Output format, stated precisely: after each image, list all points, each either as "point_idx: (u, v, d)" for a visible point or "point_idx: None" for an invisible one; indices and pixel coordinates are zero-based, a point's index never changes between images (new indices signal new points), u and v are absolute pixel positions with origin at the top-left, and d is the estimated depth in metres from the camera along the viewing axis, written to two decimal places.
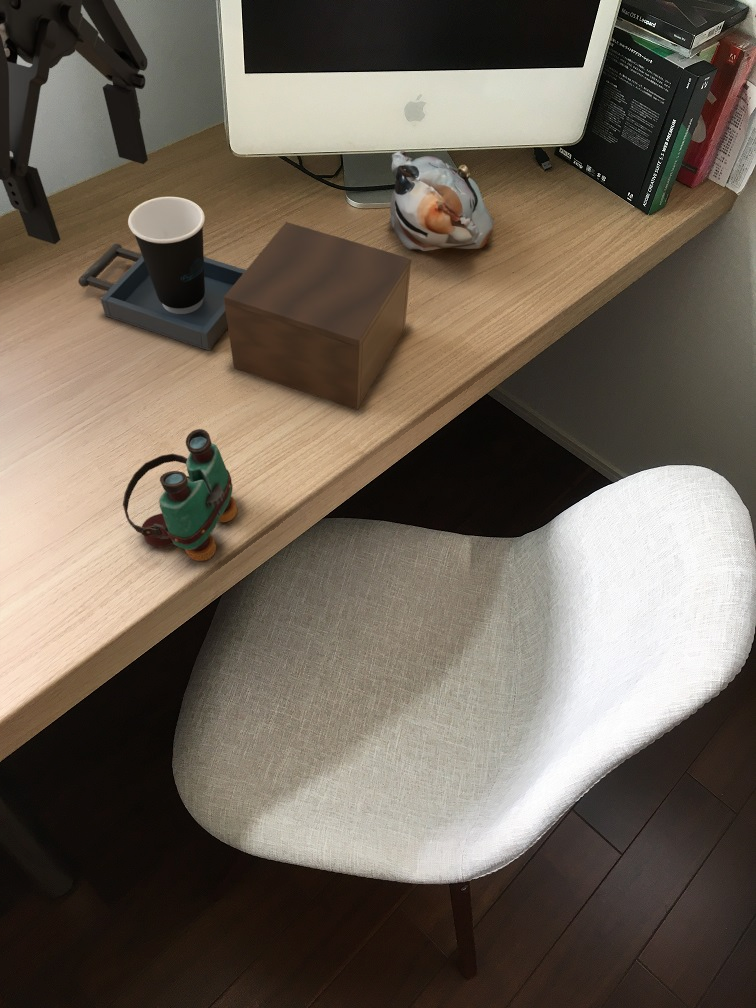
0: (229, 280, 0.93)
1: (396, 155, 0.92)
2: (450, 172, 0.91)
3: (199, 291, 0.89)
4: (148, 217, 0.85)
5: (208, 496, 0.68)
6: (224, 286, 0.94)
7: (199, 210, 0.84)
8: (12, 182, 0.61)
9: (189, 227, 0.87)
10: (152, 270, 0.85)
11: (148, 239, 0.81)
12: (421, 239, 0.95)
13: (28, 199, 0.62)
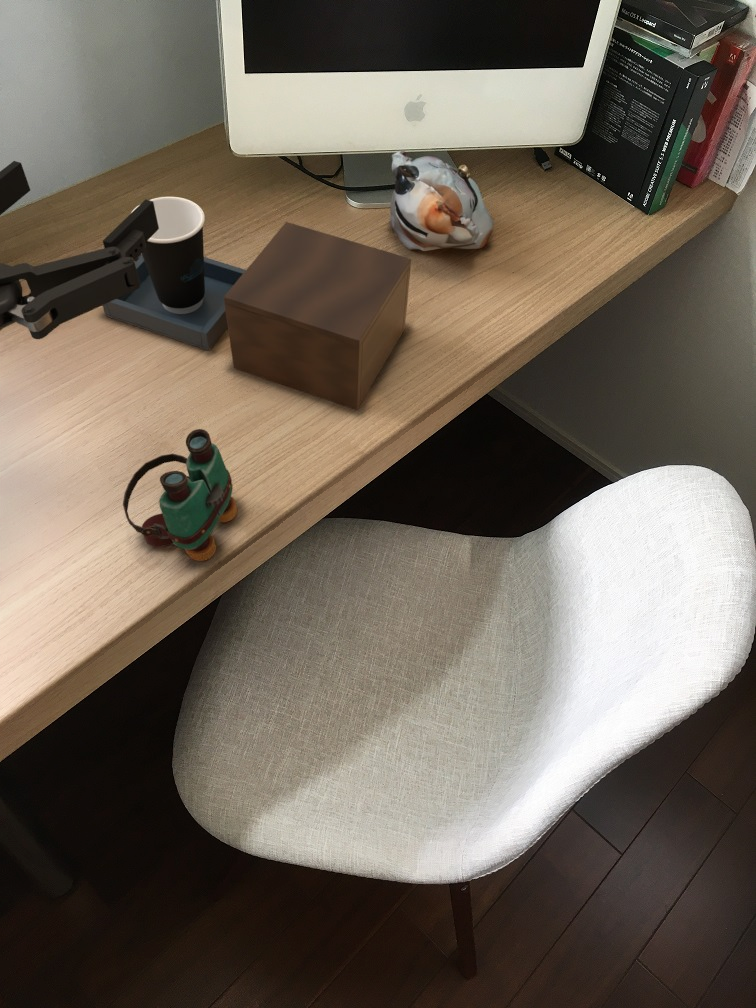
0: (229, 280, 0.93)
1: (396, 155, 0.92)
2: (450, 172, 0.91)
3: (199, 291, 0.89)
4: None
5: (208, 496, 0.68)
6: (224, 286, 0.94)
7: (199, 210, 0.84)
8: None
9: (189, 227, 0.87)
10: (152, 270, 0.85)
11: None
12: (421, 239, 0.95)
13: None
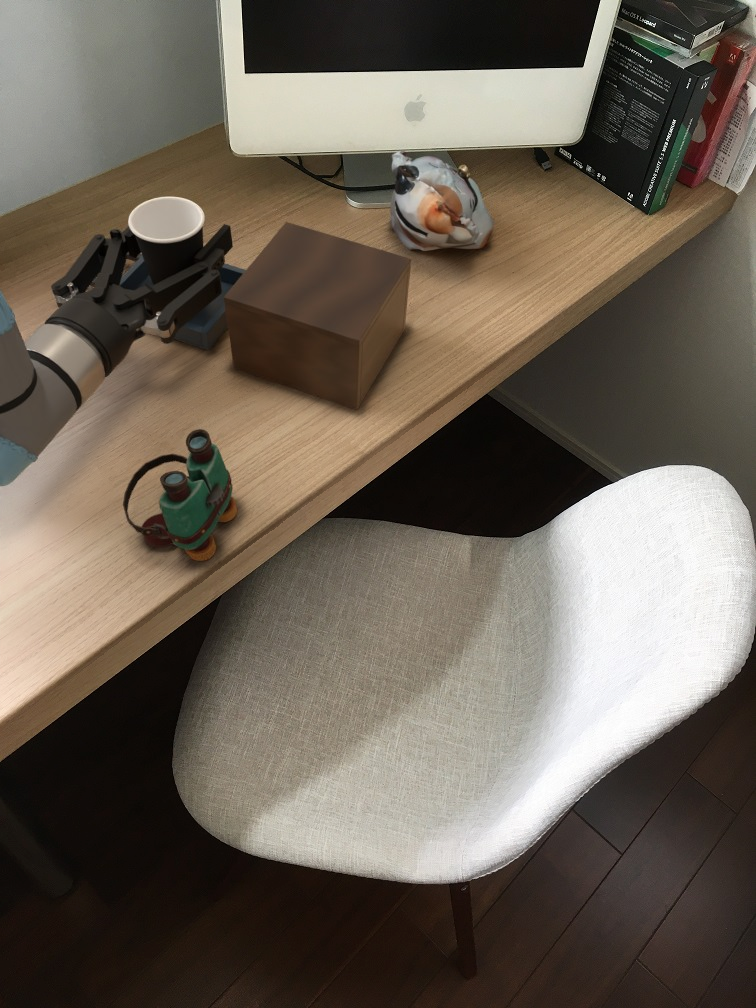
0: (229, 280, 0.93)
1: (396, 155, 0.92)
2: (450, 172, 0.91)
3: None
4: (148, 217, 0.85)
5: (208, 496, 0.68)
6: (224, 286, 0.94)
7: (199, 210, 0.84)
8: None
9: (189, 227, 0.87)
10: (152, 270, 0.85)
11: (148, 239, 0.81)
12: (421, 239, 0.95)
13: None
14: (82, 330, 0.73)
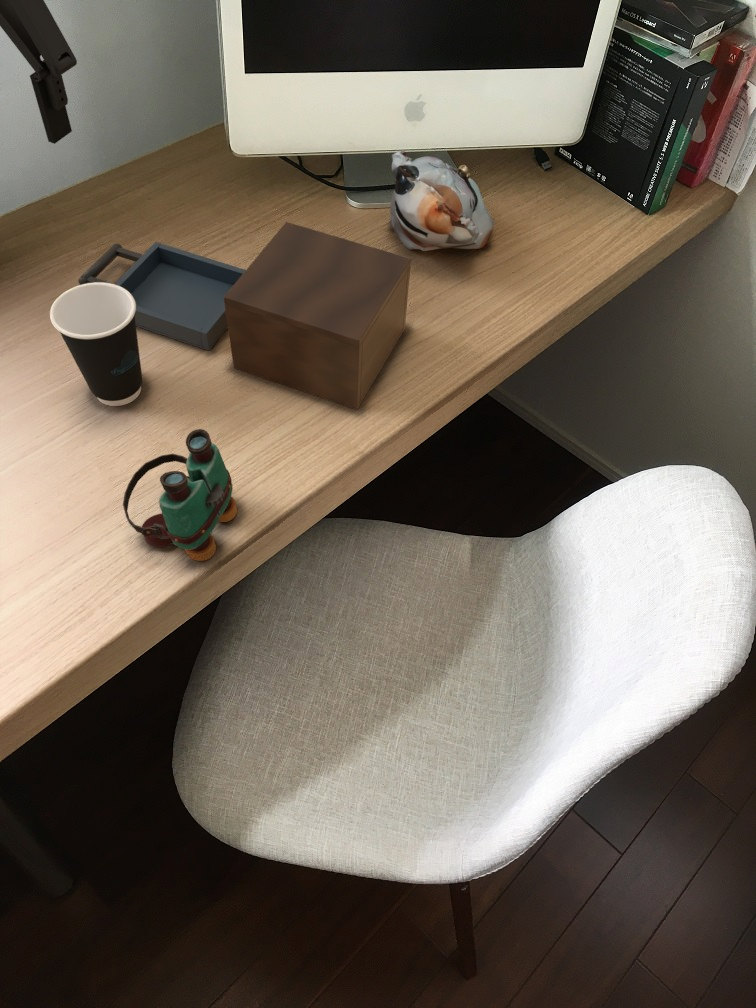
0: (229, 280, 0.93)
1: (396, 155, 0.92)
2: (450, 172, 0.91)
3: (134, 382, 0.81)
4: (75, 305, 0.77)
5: (208, 496, 0.68)
6: (224, 286, 0.94)
7: (130, 298, 0.76)
8: (59, 78, 0.74)
9: (122, 314, 0.79)
10: (79, 363, 0.77)
11: (70, 335, 0.72)
12: (421, 239, 0.95)
13: None
14: None
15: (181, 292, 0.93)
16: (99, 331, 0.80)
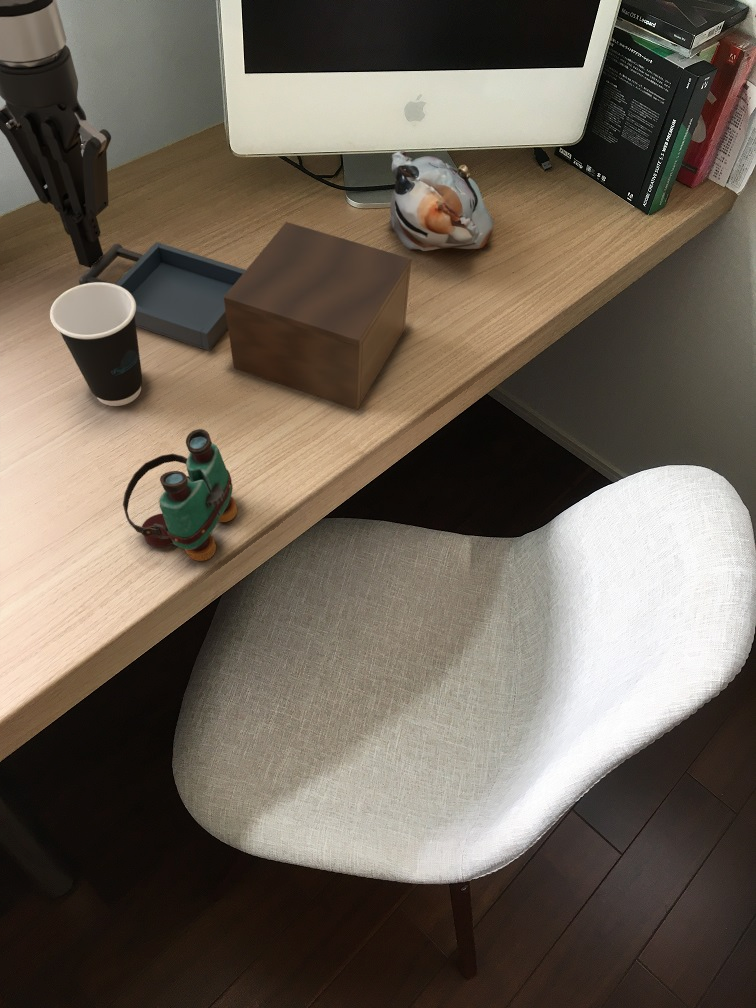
0: (229, 280, 0.93)
1: (396, 155, 0.92)
2: (450, 172, 0.91)
3: (134, 382, 0.81)
4: (75, 305, 0.77)
5: (208, 496, 0.68)
6: (224, 286, 0.93)
7: (130, 298, 0.76)
8: None
9: (122, 314, 0.79)
10: (79, 363, 0.77)
11: (70, 335, 0.72)
12: (421, 239, 0.95)
13: None
14: None
15: (181, 292, 0.93)
16: (99, 331, 0.80)
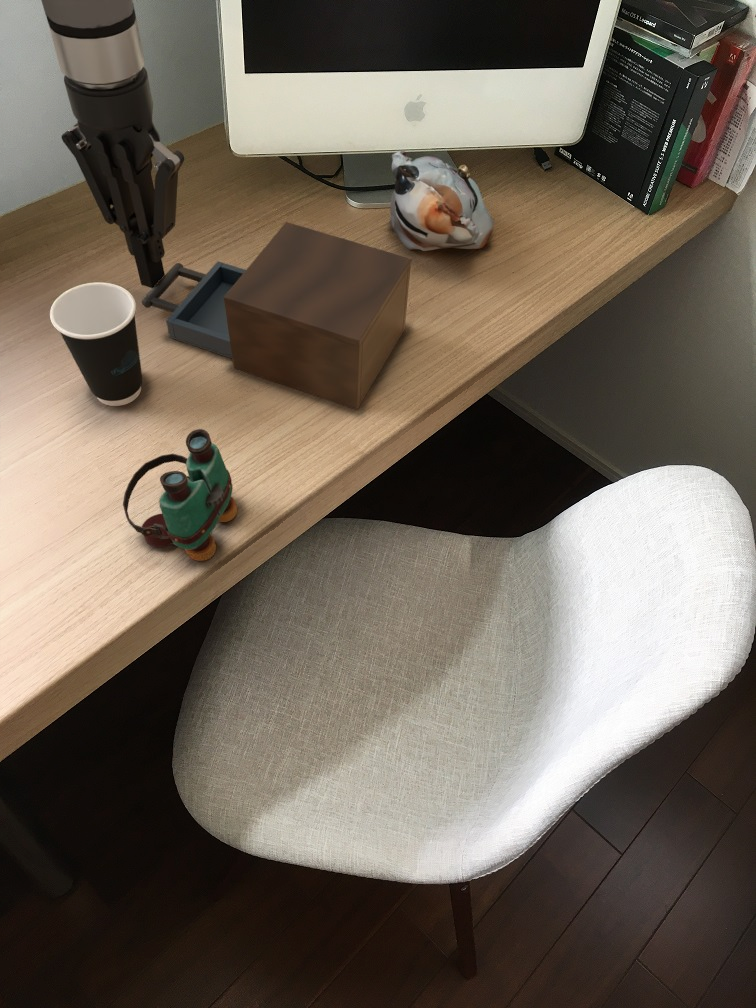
0: None
1: (396, 155, 0.92)
2: (450, 172, 0.91)
3: (134, 382, 0.81)
4: (75, 305, 0.77)
5: (208, 496, 0.68)
6: None
7: (130, 298, 0.76)
8: None
9: (122, 314, 0.79)
10: (79, 363, 0.77)
11: (70, 335, 0.72)
12: (421, 239, 0.95)
13: None
14: (69, 84, 0.71)
15: None
16: (99, 331, 0.80)
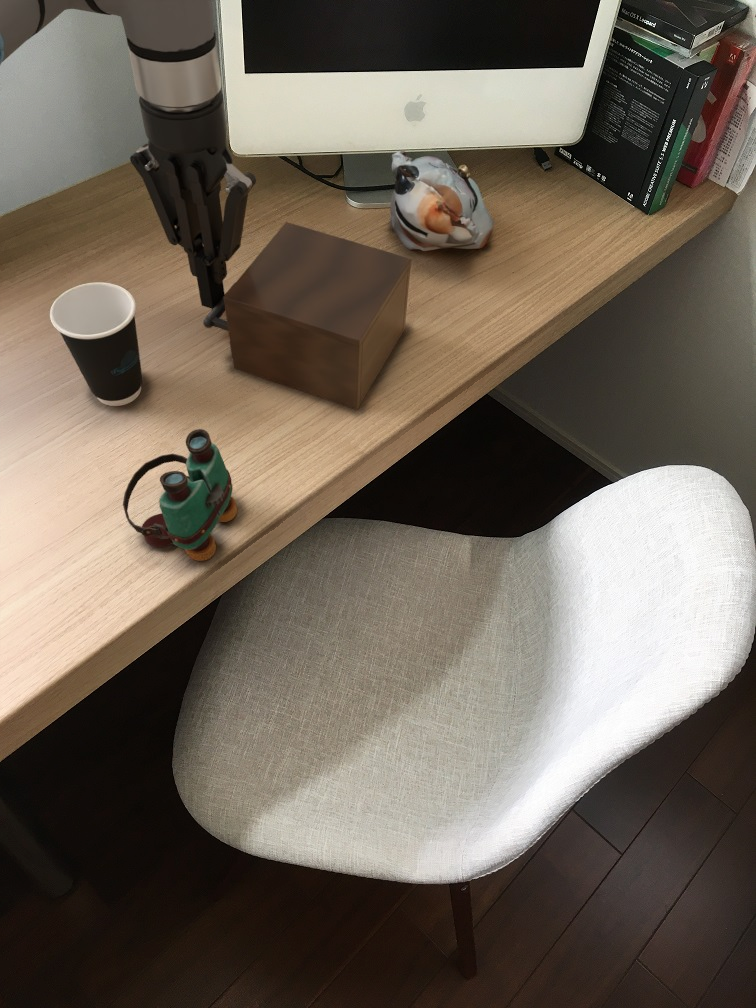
0: None
1: (396, 155, 0.92)
2: (450, 172, 0.91)
3: (134, 382, 0.81)
4: (75, 305, 0.77)
5: (208, 496, 0.68)
6: None
7: (130, 298, 0.76)
8: None
9: (122, 314, 0.79)
10: (79, 363, 0.77)
11: (70, 335, 0.72)
12: (421, 239, 0.95)
13: None
14: (146, 107, 0.69)
15: None
16: (99, 331, 0.80)
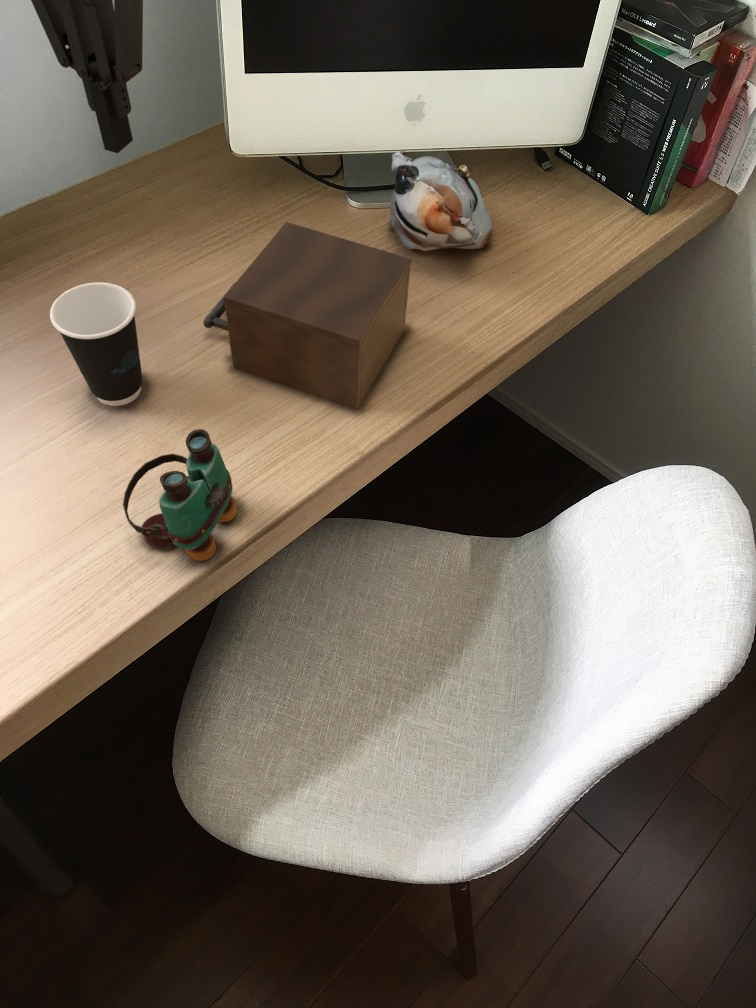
0: None
1: (396, 155, 0.92)
2: (450, 172, 0.91)
3: (134, 382, 0.81)
4: (75, 305, 0.77)
5: (208, 496, 0.68)
6: None
7: (130, 298, 0.76)
8: (124, 85, 0.73)
9: (122, 314, 0.79)
10: (79, 363, 0.77)
11: (70, 335, 0.72)
12: (421, 239, 0.95)
13: None
14: None
15: None
16: (99, 331, 0.80)
